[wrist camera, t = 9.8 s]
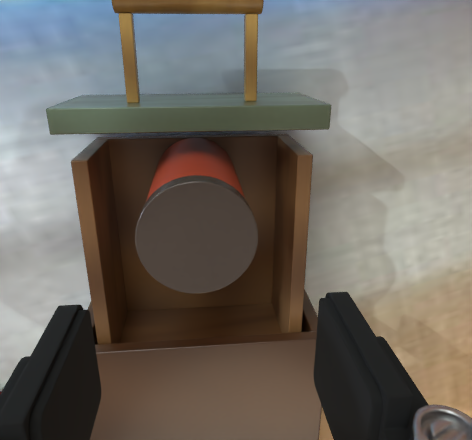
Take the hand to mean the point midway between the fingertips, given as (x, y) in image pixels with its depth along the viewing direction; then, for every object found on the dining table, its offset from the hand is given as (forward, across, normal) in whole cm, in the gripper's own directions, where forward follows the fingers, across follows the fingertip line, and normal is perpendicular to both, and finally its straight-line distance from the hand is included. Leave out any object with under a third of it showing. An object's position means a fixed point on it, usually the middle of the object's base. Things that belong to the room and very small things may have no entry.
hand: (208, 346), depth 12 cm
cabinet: (+19, 0, +16) cm, 25 cm away
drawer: (+18, 0, 0) cm, 18 cm away
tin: (+17, 0, 0) cm, 17 cm away
